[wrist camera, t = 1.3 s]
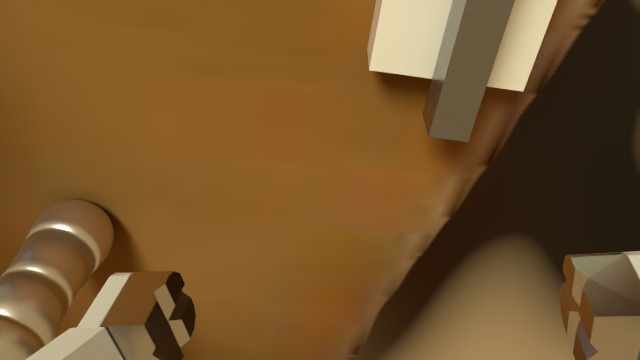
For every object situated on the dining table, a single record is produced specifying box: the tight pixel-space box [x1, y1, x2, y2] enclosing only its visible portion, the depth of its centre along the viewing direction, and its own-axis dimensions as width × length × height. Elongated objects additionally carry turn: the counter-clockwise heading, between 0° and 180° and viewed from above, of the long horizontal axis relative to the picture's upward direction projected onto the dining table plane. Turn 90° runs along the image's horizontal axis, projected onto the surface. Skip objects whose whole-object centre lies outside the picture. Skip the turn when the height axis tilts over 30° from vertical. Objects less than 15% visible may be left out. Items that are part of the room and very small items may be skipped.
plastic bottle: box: [0, 199, 114, 360], centre depth 38 cm, size 6×7×20 cm
